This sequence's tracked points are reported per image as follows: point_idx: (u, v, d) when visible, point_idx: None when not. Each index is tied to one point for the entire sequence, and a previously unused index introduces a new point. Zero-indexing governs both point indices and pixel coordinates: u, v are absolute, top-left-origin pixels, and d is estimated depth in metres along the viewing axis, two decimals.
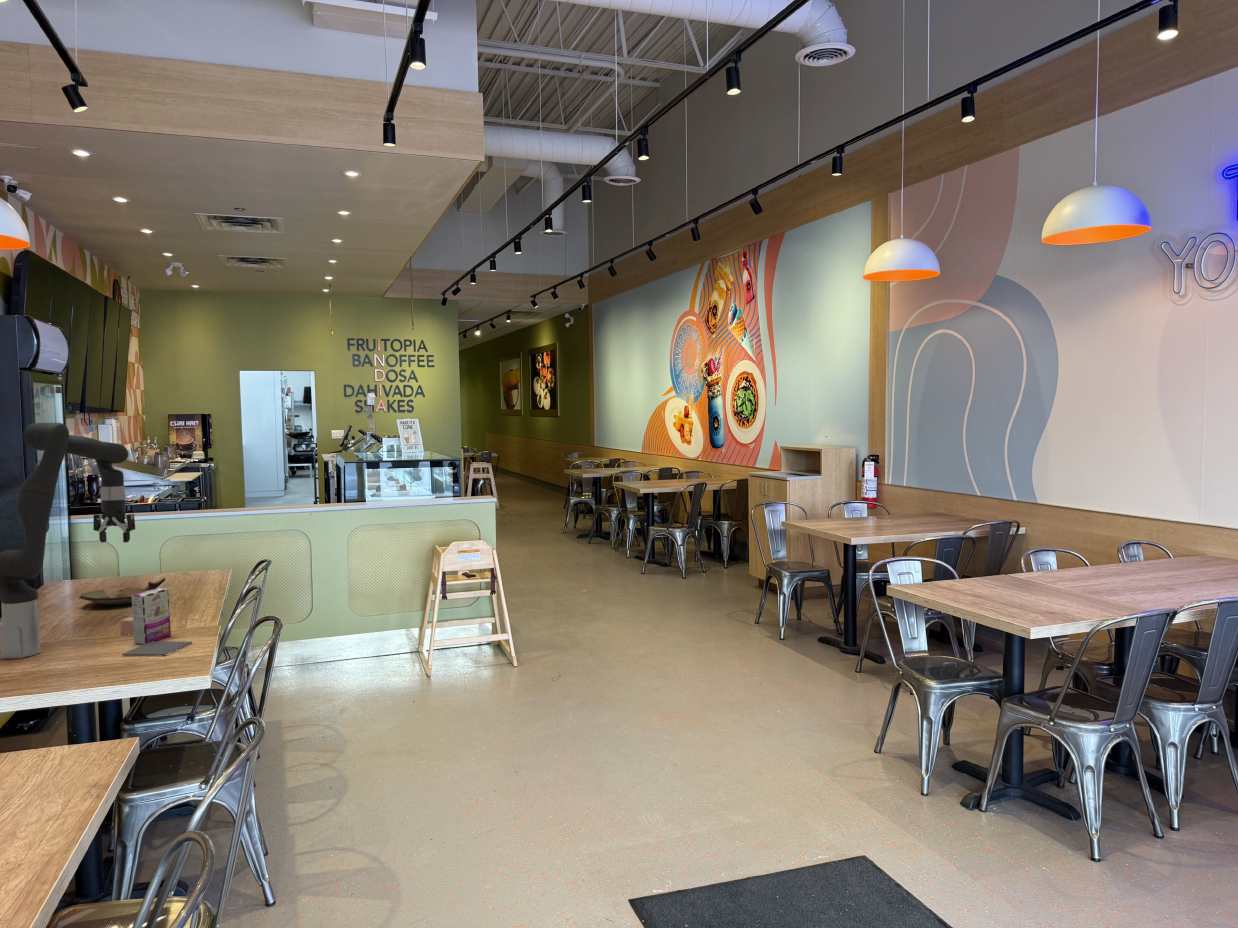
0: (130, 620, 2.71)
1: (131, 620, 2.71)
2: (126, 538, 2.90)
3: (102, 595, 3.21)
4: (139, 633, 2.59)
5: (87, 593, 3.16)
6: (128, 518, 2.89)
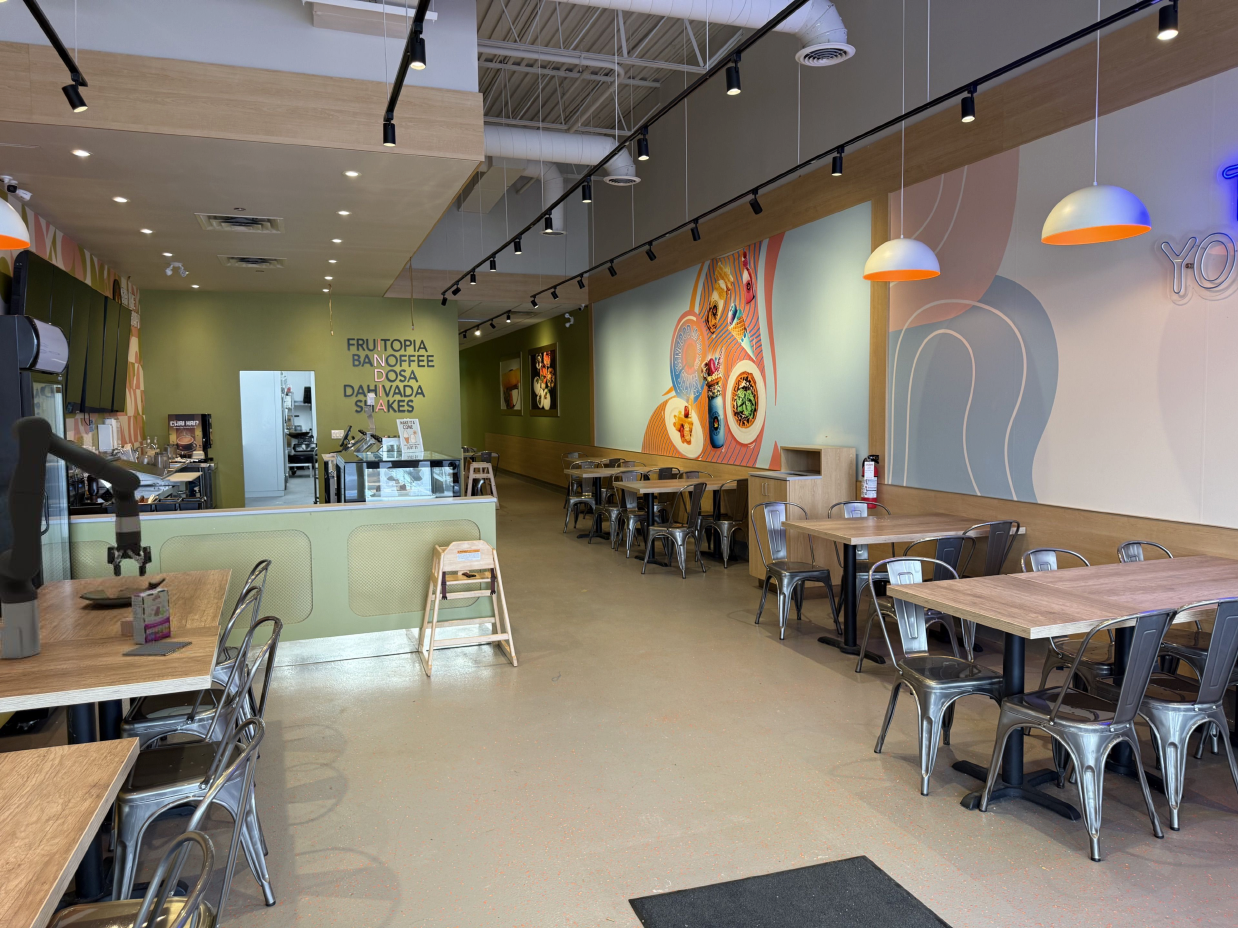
0: (130, 620, 2.71)
1: (131, 620, 2.71)
2: (142, 572, 2.71)
3: (102, 595, 3.21)
4: (139, 633, 2.59)
5: (87, 593, 3.16)
6: (144, 551, 2.70)
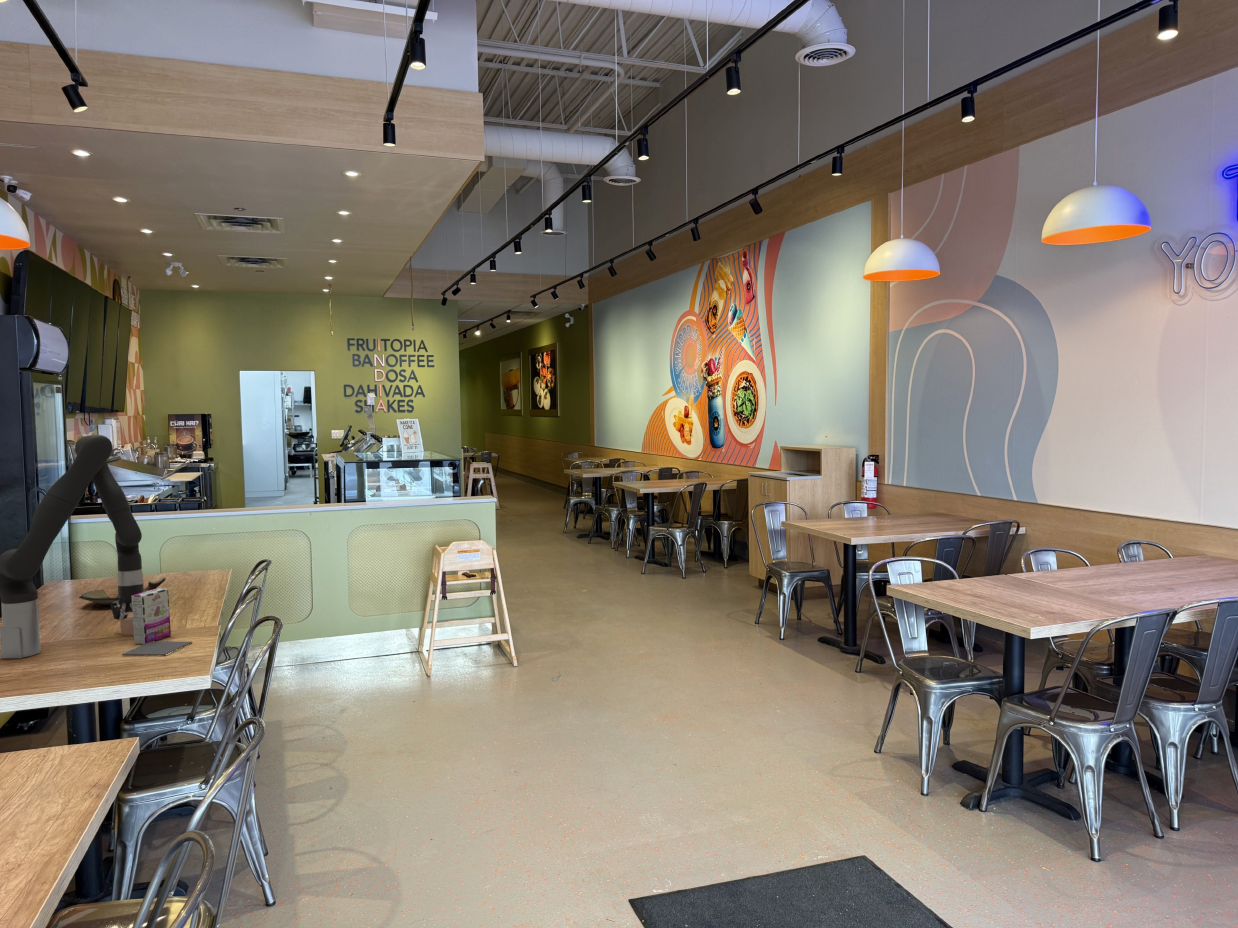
0: (130, 620, 2.71)
1: (131, 620, 2.71)
2: None
3: (102, 595, 3.21)
4: (139, 633, 2.59)
5: (87, 593, 3.16)
6: None
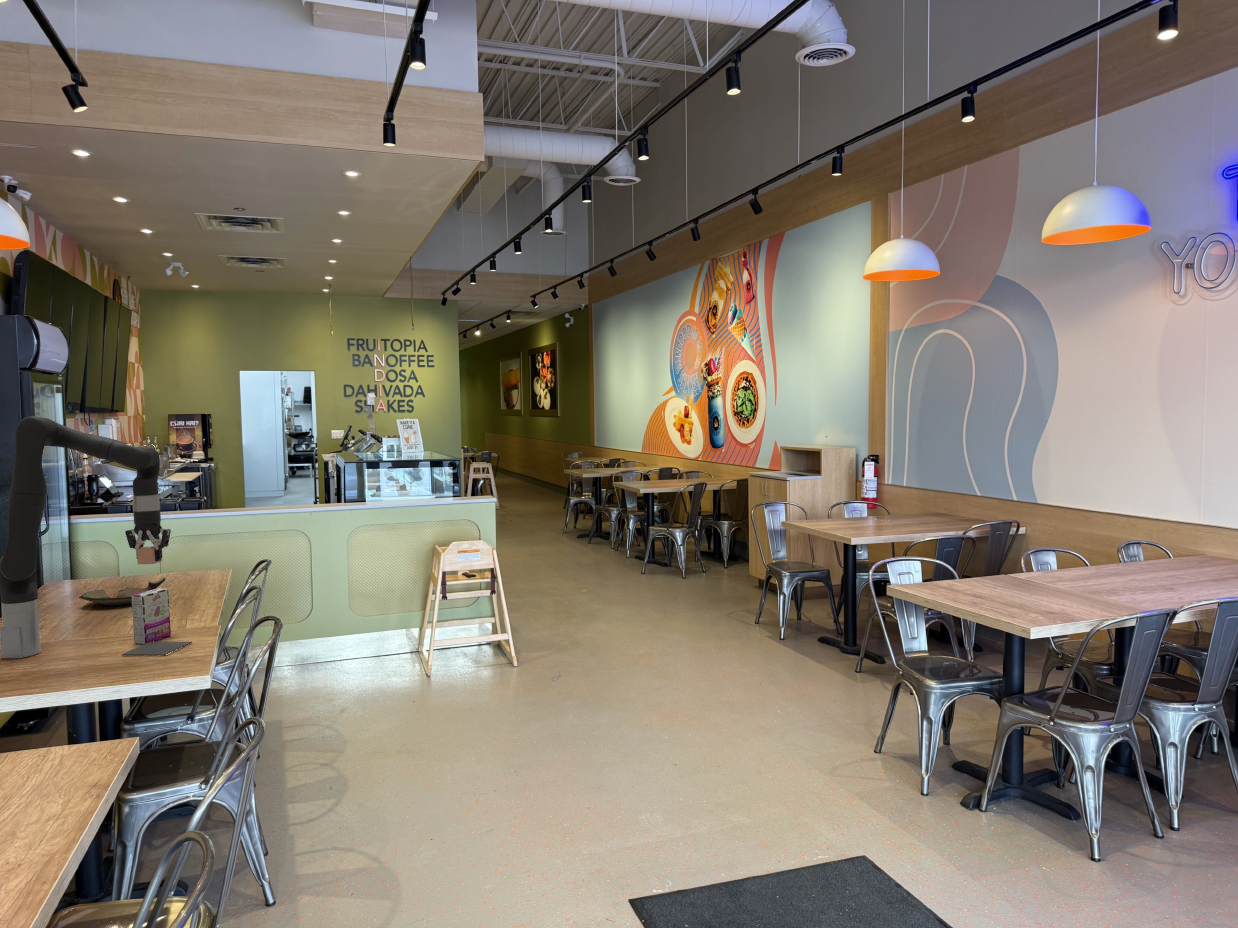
0: (147, 548, 2.54)
1: (148, 548, 2.54)
2: (158, 556, 2.56)
3: (102, 595, 3.21)
4: (139, 633, 2.59)
5: (87, 593, 3.16)
6: (164, 534, 2.55)
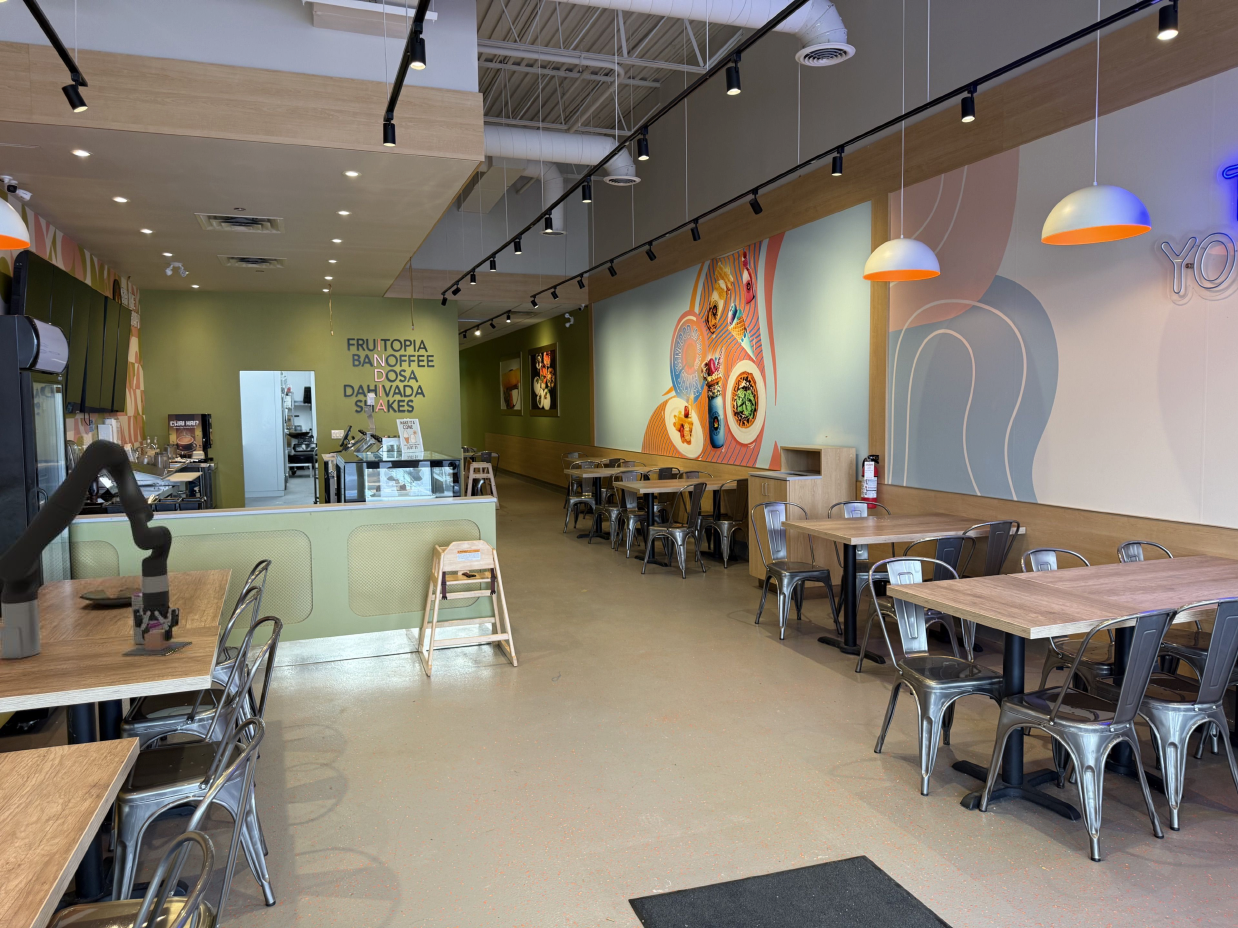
0: (155, 633, 2.51)
1: (156, 633, 2.51)
2: (168, 636, 2.52)
3: (102, 595, 3.21)
4: (139, 633, 2.59)
5: (87, 593, 3.16)
6: (172, 613, 2.51)
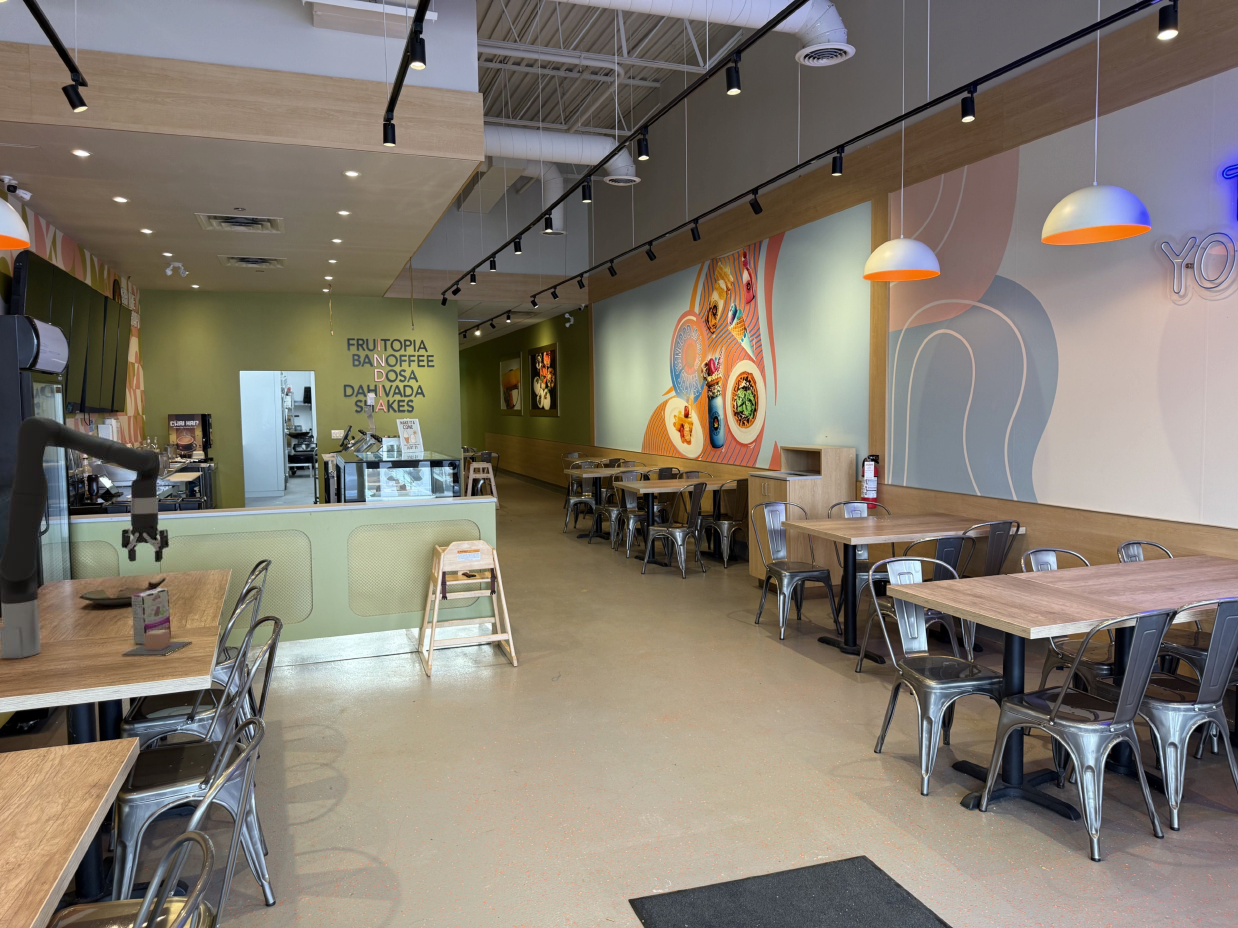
0: (155, 633, 2.51)
1: (156, 633, 2.51)
2: (158, 557, 2.53)
3: (102, 595, 3.21)
4: (139, 633, 2.59)
5: (87, 593, 3.16)
6: (161, 534, 2.52)
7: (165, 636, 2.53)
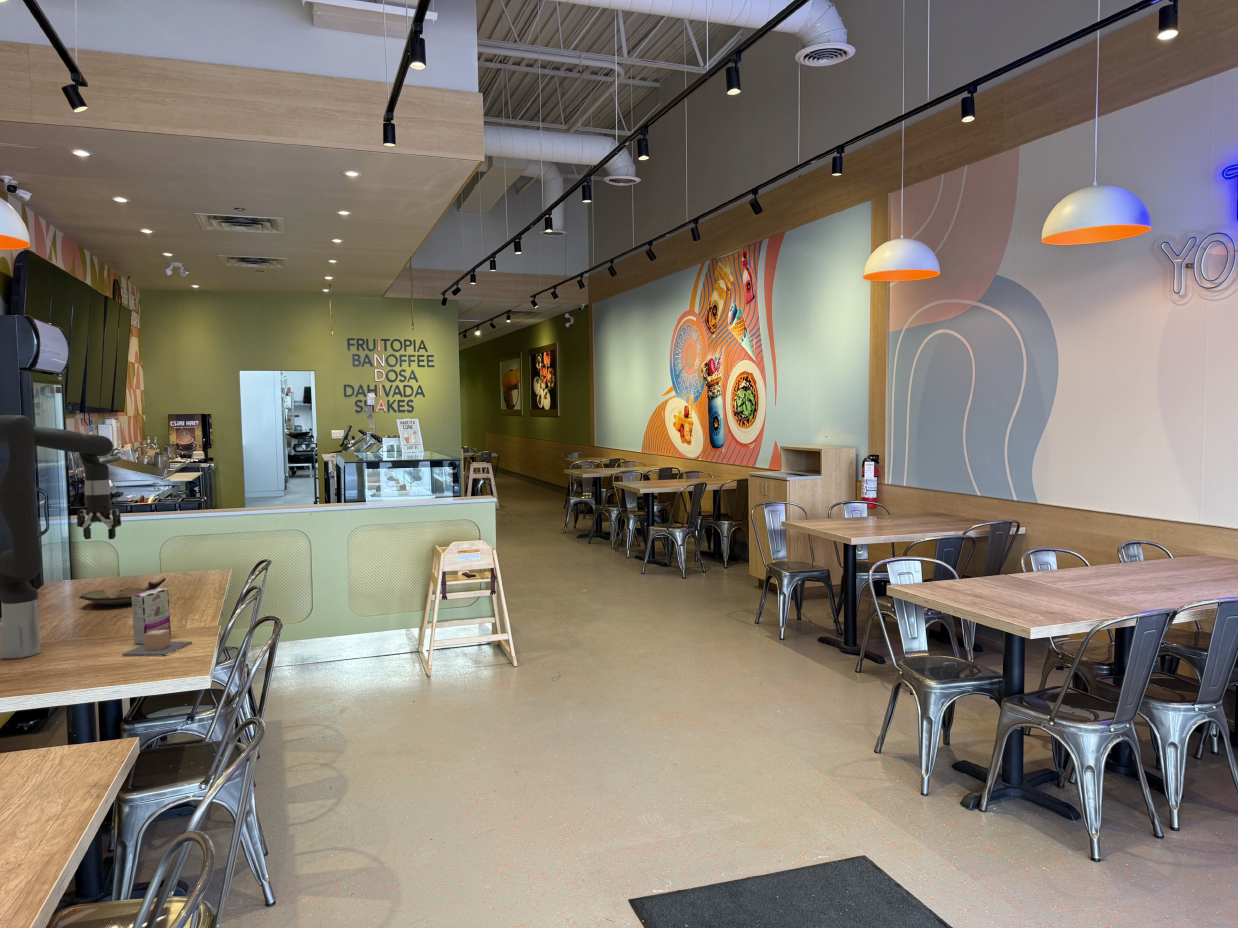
0: (155, 633, 2.51)
1: (156, 633, 2.51)
2: (111, 535, 2.75)
3: (102, 595, 3.21)
4: (139, 633, 2.59)
5: (87, 593, 3.16)
6: (113, 514, 2.75)
7: (165, 636, 2.53)
